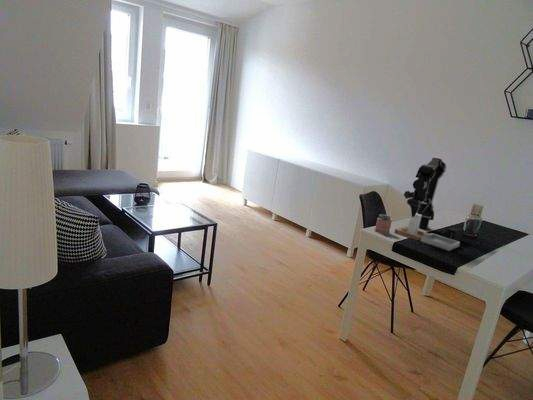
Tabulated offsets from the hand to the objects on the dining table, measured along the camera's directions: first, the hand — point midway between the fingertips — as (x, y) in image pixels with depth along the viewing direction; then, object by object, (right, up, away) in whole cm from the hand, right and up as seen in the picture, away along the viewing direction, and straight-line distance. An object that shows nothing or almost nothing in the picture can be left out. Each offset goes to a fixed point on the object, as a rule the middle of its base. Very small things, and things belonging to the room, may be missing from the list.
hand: (416, 216), depth 206 cm
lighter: (-19, -9, 0) cm, 21 cm away
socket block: (-1, -11, +3) cm, 11 cm away
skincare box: (-1, -11, +3) cm, 11 cm away
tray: (+9, -15, -8) cm, 19 cm away
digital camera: (+22, -14, +3) cm, 26 cm away
